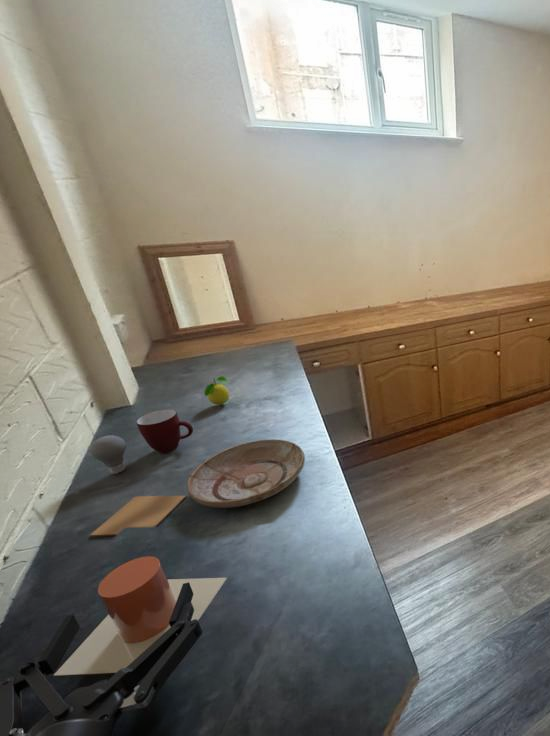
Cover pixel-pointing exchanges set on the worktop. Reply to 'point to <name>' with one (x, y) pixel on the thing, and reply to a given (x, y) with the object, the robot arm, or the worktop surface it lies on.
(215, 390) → the lemon
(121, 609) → the terracotta cylinder
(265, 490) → the ceramic bowl
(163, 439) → the mug
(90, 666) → the beige paper sheet
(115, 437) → the light bulb
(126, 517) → the cork mat
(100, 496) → the worktop surface
